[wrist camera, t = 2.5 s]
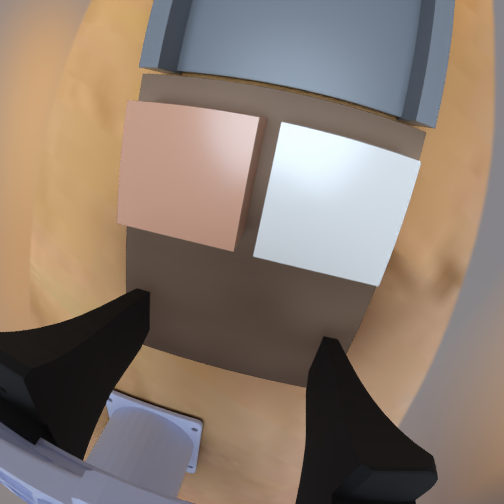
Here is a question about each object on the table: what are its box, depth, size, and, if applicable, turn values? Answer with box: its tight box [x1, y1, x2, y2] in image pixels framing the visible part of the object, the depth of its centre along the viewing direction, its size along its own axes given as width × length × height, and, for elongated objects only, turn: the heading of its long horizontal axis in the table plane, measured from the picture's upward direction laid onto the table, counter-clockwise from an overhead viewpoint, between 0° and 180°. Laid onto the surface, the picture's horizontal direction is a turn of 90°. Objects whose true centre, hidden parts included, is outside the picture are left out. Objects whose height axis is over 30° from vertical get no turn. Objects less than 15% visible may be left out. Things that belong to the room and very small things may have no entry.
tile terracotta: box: [117, 100, 267, 252], centre depth 10 cm, size 4×4×2 cm
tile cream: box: [253, 121, 421, 286], centre depth 10 cm, size 4×4×2 cm
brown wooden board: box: [126, 74, 426, 388], centre depth 13 cm, size 12×10×3 cm
